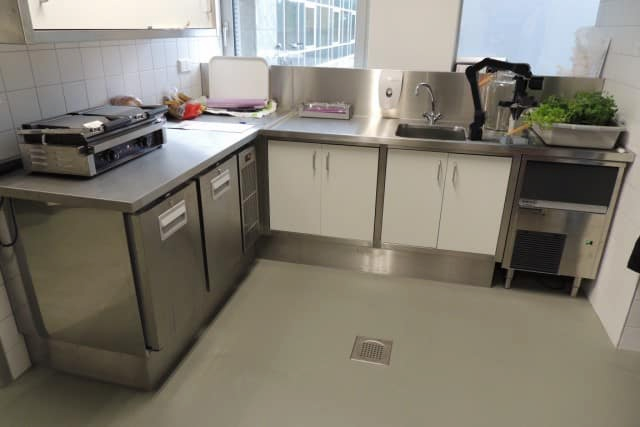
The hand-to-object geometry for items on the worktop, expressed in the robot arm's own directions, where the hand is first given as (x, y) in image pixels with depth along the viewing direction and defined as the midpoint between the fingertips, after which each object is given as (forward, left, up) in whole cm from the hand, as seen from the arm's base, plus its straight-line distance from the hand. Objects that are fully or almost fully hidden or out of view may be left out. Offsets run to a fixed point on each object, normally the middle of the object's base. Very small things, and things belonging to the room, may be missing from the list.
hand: (515, 120), depth 240 cm
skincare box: (+11, +17, -13) cm, 24 cm away
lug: (+8, -4, -12) cm, 15 cm away
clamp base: (+3, 0, -12) cm, 13 cm away
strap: (+2, 0, -6) cm, 6 cm away
